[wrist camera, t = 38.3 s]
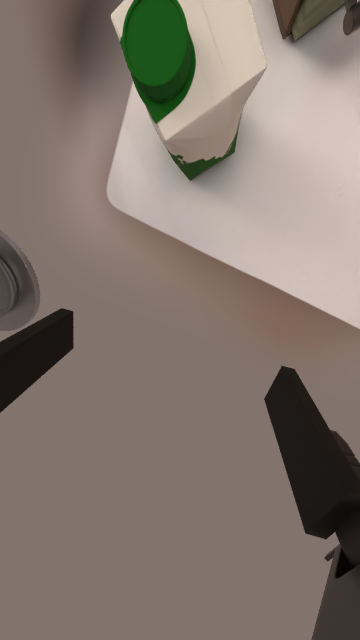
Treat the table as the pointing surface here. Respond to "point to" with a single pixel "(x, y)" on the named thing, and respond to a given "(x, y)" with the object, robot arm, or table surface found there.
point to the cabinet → (286, 14)
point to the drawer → (325, 15)
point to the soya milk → (192, 72)
